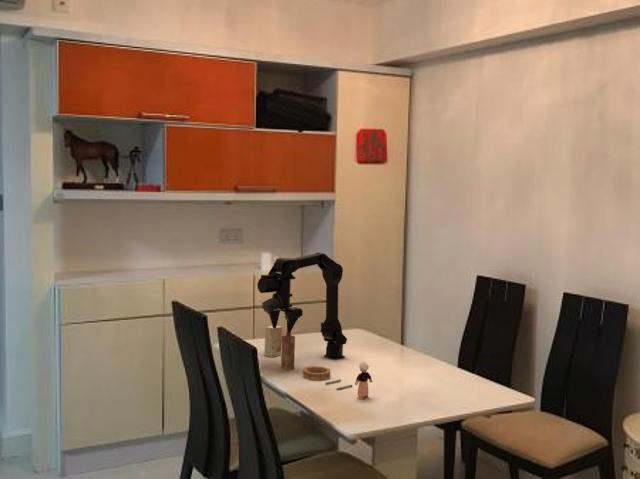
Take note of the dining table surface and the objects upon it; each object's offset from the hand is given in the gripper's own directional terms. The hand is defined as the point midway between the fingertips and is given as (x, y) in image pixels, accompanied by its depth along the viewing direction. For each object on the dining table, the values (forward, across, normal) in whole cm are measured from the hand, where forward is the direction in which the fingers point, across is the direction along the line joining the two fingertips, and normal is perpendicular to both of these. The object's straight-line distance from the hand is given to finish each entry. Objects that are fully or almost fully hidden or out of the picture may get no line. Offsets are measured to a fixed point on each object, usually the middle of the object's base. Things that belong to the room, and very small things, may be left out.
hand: (281, 330), depth 271 cm
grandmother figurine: (+15, +45, +1) cm, 47 cm away
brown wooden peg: (+15, +3, +1) cm, 15 cm away
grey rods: (+15, +30, +4) cm, 33 cm away
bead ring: (+15, +17, +4) cm, 23 cm away
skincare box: (+15, -16, +8) cm, 23 cm away
